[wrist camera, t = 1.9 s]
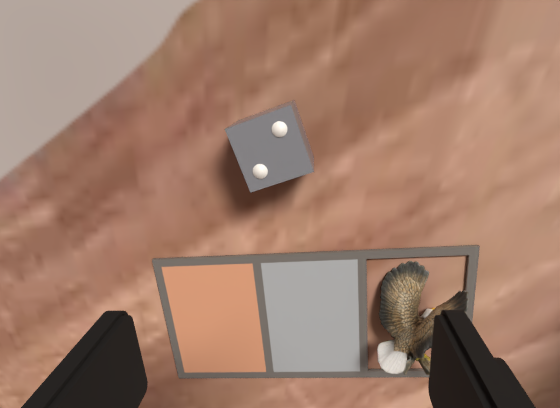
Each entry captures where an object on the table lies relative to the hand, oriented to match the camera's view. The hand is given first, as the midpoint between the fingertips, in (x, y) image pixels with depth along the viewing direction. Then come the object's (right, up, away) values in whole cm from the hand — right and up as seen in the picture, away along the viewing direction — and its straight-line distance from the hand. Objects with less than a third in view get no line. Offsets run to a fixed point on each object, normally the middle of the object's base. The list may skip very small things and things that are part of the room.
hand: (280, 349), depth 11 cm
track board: (+3, -7, +26) cm, 27 cm away
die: (0, +10, +20) cm, 22 cm away
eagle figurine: (+13, -5, +24) cm, 28 cm away
